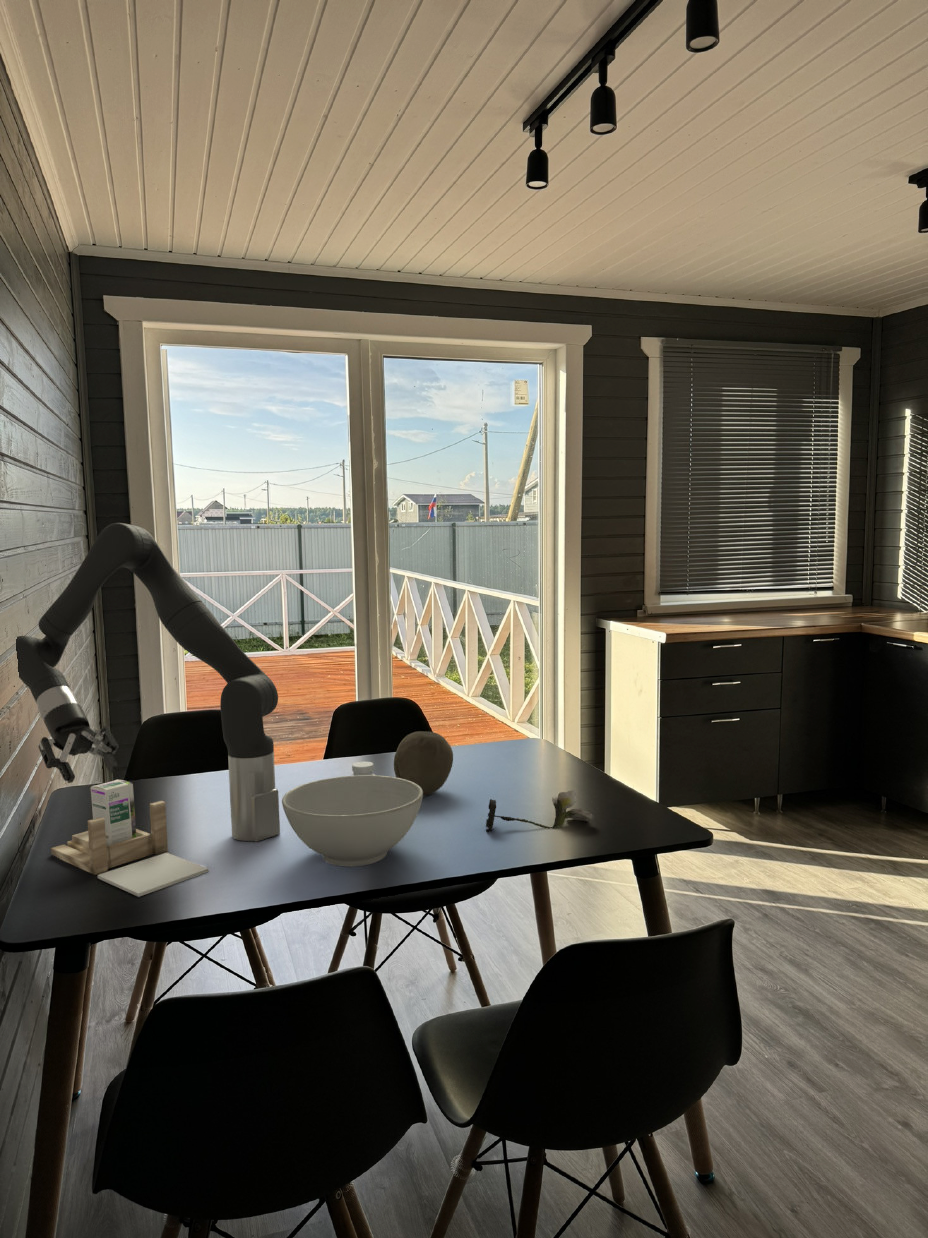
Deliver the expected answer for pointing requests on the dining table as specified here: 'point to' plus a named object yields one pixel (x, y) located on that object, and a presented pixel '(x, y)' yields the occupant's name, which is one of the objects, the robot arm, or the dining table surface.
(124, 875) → the grey mat
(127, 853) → the birch rack
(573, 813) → the artificial flower
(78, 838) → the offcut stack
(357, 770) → the pill bottle
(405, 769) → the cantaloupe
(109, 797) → the syrup box
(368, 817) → the decorative bowl
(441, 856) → the dining table surface
